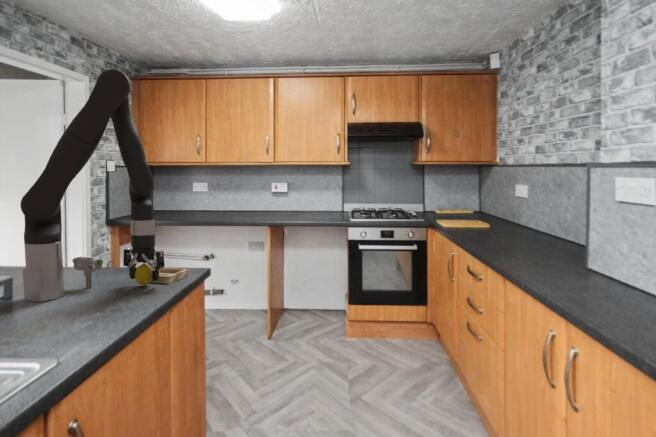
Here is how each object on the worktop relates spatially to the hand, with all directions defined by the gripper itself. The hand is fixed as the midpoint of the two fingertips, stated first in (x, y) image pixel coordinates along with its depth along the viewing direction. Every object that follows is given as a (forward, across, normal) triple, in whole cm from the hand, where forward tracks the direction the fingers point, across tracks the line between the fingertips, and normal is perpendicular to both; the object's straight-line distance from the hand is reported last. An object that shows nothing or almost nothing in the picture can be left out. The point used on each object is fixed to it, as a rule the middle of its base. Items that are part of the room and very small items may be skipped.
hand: (144, 279), depth 136 cm
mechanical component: (+3, -16, -7) cm, 18 cm away
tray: (+2, 0, +11) cm, 11 cm away
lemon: (+3, 0, 0) cm, 3 cm away
